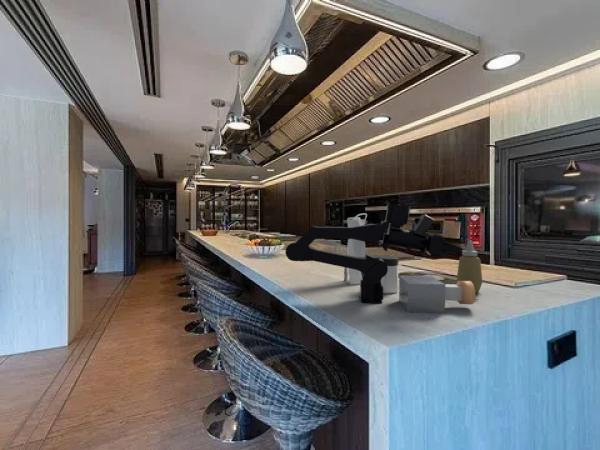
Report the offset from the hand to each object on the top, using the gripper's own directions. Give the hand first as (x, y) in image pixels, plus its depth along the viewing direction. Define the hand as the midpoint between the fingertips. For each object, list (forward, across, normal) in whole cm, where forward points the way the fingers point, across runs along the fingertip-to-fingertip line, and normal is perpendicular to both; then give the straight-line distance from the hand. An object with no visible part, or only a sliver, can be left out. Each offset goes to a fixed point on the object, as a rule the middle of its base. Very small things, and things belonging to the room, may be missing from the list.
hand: (456, 248), depth 97 cm
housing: (-8, -4, +19) cm, 21 cm away
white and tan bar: (-2, -4, +16) cm, 17 cm away
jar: (-15, +15, +20) cm, 29 cm away
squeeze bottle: (+13, +17, +15) cm, 26 cm away
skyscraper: (-26, +26, +22) cm, 43 cm away
